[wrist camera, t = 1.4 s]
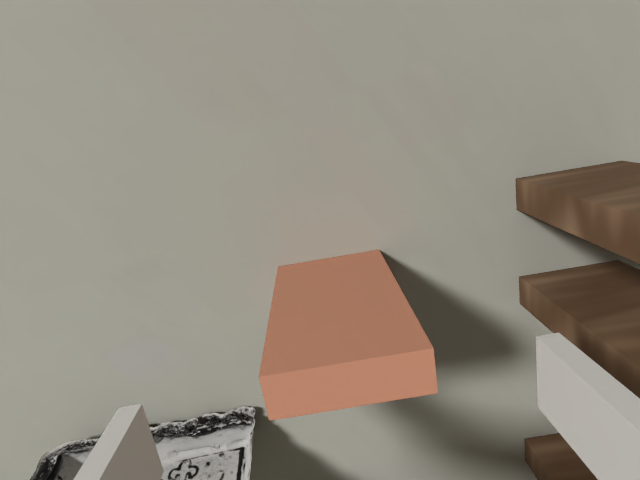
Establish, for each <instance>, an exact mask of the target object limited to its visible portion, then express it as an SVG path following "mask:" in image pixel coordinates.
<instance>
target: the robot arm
mask: <svg viewBox="0 0 640 480" xmlns="http://www.w3.org/2000/svg"><path fill="white" fill-rule="evenodd" d="M536 357H537V392H538V408H539V409H540V410H541V412H542V413H543V414H544V415H545V416H546V418H547V419H548V420H549V421H550V422H551V424H552V425H553V426H554V427H555V428H556V430H557V431H558V432H559V433H560V434H561V436H562V437H563V438H564V439H565V440H566V442H567V443H568V444H569V445H570V446H571V448H572V449H573V450H574V451H575V452H576V454H577V455H578V456H579V457H580V458H581V460H582V461H583V462H584V463H585V465H586V466H587V467H588V468H589V469H590V471H591V472H592V473H593V474H594V475H595V477H596V478H597V479H598V480H640V398H638V397H637V396H636V395H635V394H633V393H632V392H631V391H630V390H629V389H627V388H626V387H625V386H624V385H622V384H621V383H620V382H619V381H618V380H616V379H615V378H614V377H613V376H611V375H610V374H609V373H608V372H607V371H605V370H604V369H603V368H602V367H600V366H599V365H598V364H597V363H596V362H594V361H593V360H592V359H591V358H589V357H588V356H587V355H586V354H585V353H583V352H582V351H581V350H580V349H578V348H577V347H576V346H575V345H574V344H572V343H571V342H570V341H569V340H567V339H566V338H565V337H564V336H563V335H561V334H560V333H553V334H547V335H541V336H536ZM163 472H164V470H163V467H162V464H161V461H160V458H159V455H158V452H157V449H156V446H155V443H154V440H153V437H152V433H151V430H150V427H149V424H148V421H147V418H146V415H145V412H144V409H143V406H142V404H138V405H132V406H126V407H120V408H118V410H117V411H116V413H115V415H114V416H113V418H112V419H111V421H110V422H109V424H108V426H107V427H106V429H105V430H104V432H103V434H102V435H101V437H100V438H99V440H98V441H97V443H96V445H95V446H94V448H93V449H92V451H91V452H90V454H89V456H88V457H87V459H86V460H85V462H84V464H83V465H82V467H81V468H80V470H79V471H78V473H77V475H76V476H75V478H74V479H73V480H161V477H162V474H163Z"/></svg>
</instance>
